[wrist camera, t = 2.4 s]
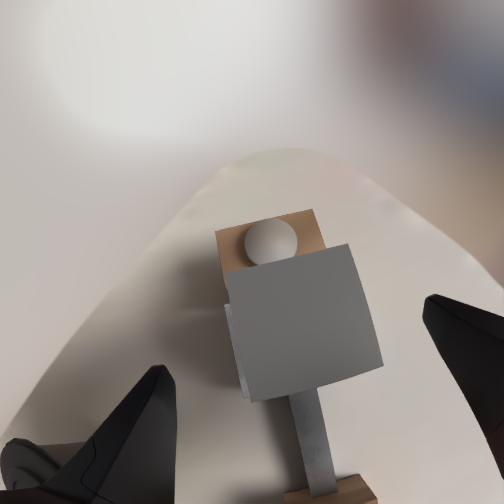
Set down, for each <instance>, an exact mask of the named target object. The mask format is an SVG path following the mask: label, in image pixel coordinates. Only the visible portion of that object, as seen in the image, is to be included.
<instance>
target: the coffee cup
mask: <svg viewBox="0 0 504 504" xmlns="http://www.w3.org/2000/svg"><path fill="white" fill-rule="evenodd" d="M85 443H86V442H81V443H71V444H58V445H35V444H34V443H32V442H30V441H29V440H26V439H19V438H14V439H12V440H11V441H9V442H8V443H7V444H6V446H5V447H4V448H3V450H2V452H1V456H0V468H1V474H2V478H3V481H4V484H5V487H6V489H7V490H14V489H23V488H31V487H36V486H39V485H41V484H43V483H45V482H46V481H47V480H49V479H50V478H51V477H52V476H53V475H54V474H55V473H56V472H57V471H58V470H59V469H60V468H61V467H63V466H64V465H65V464H66V463H67V462H68V461H69V460H70V459H71V458H72V457H73V456H74V455H75V454H76V453H77V452H78V451H79V450H80V449H81V447H82V446H83V445H84V444H85Z"/></svg>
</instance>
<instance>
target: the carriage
mask: <svg viewBox="0 0 504 504" xmlns="http://www.w3.org/2000/svg"><path fill="white" fill-rule="evenodd" d="M224 275H225V280H226V285H227V290H228V295H229V301H230V303H229V304H224V307H225V312H226V317H227V322H228V327H229V332H230V337H231V342H232V347H233V352H234V356H235V361H236V366H237V370H238V375H239V379H240V384H241V388H242V393H243V397H244V398H248V397H250V399H251V403H252V402H257V401H262V400H267V399H272V398H277V397H281V396H286V395H290V394H294V393H298V392H302V391H306V390H310V389H314V388H317V387H321V386H324V385H328V384H331V383H335V382H338V381H341V380H344V379H347V378H350V377H353V376H356V375H359V374H362V373H365V372H368V371H371V370H373V369H376V368H379V367H381V366H384V365H383V360H382V356H381V352H380V348H379V344H378V340H377V336H376V332H375V329H374V325H373V321H372V318H371V314H370V311H369V307H368V304H367V301H366V297H365V294H364V291H363V287H362V284H361V281H360V278H359V275H358V272H357V269H356V266H355V263H354V260H353V257H352V254H351V251H350V248H349V246H348V244H344V245H340V246H336V247H332V248H328V249H324V250H319V251H315V252H311V253H307V254H303V255H299V256H295V257H291V258H286V259H282V260H278V261H274V262H270V263H265V264H261V265H257V266H253V267H248V268H244V269H240V270H235V271H231V272H227V273H224Z"/></svg>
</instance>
